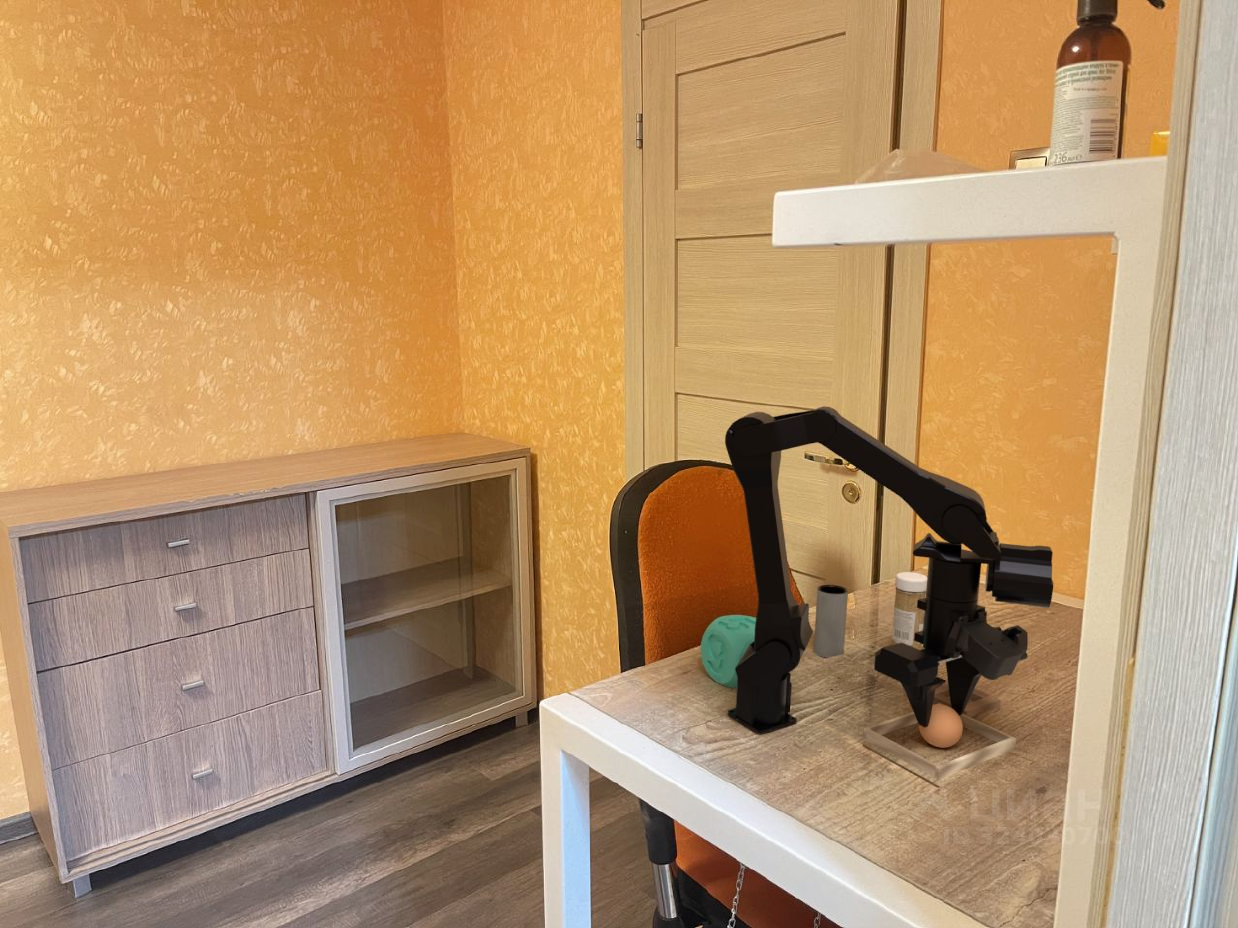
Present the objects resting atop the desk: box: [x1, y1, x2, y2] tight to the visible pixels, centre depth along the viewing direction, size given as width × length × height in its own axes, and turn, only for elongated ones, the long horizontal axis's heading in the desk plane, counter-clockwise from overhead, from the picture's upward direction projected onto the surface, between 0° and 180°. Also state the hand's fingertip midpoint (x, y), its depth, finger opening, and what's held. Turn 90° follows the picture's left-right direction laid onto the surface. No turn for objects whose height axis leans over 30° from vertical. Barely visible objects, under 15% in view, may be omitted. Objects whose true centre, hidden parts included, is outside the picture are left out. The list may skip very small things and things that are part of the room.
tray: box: [862, 703, 1018, 789], centre depth 107 cm, size 14×11×2 cm
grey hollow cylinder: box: [813, 584, 849, 659], centre depth 136 cm, size 4×4×10 cm
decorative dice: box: [700, 614, 756, 689], centre depth 127 cm, size 8×8×8 cm
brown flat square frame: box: [933, 682, 1002, 718], centre depth 118 cm, size 7×7×2 cm
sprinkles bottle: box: [891, 571, 927, 650], centre depth 133 cm, size 5×5×13 cm
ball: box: [918, 704, 964, 749], centre depth 106 cm, size 5×5×5 cm
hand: (940, 719), depth 106 cm, fingers open, 6 cm apart
